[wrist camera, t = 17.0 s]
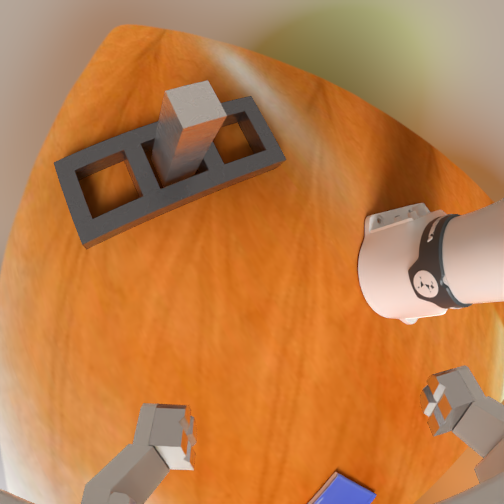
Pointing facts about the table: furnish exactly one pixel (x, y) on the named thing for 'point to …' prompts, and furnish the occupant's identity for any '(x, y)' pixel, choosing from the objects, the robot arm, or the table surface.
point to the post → (185, 131)
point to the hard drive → (342, 492)
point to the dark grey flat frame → (151, 196)
